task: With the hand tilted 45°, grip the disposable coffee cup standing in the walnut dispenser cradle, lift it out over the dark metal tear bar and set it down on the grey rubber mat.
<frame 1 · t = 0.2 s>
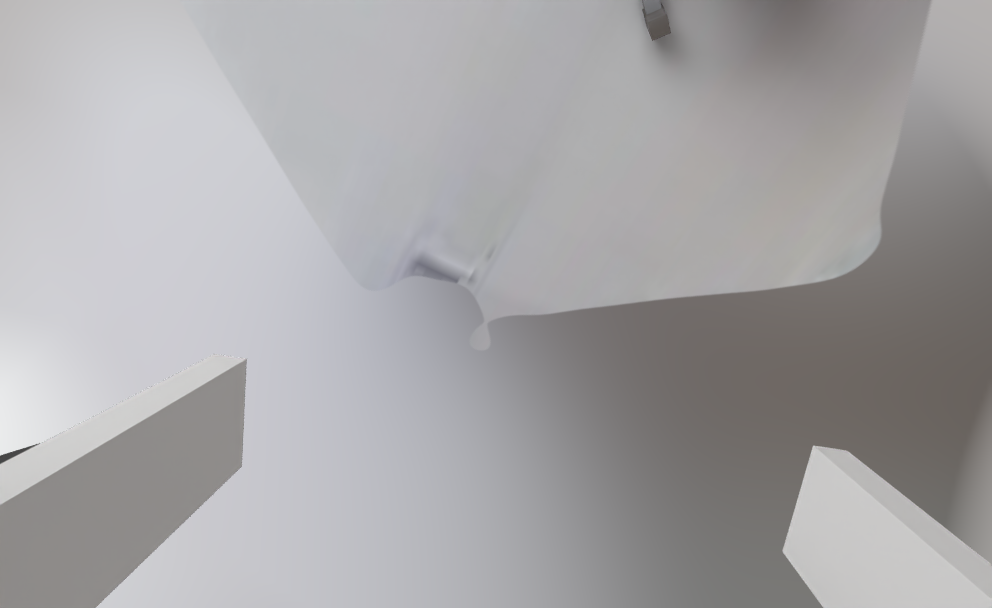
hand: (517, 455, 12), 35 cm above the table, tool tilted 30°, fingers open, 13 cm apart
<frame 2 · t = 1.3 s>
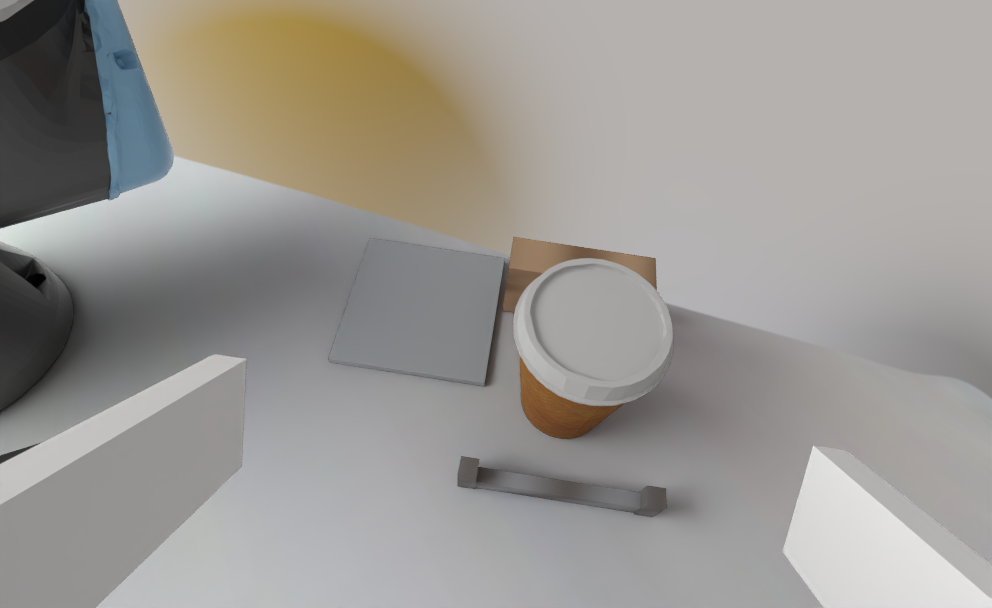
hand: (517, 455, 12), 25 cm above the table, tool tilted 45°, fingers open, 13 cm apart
dispenser cradle: (561, 398, 40), on the table
disposable coffee cup: (561, 399, 40), on the table
grey mat: (423, 308, 44), on the table
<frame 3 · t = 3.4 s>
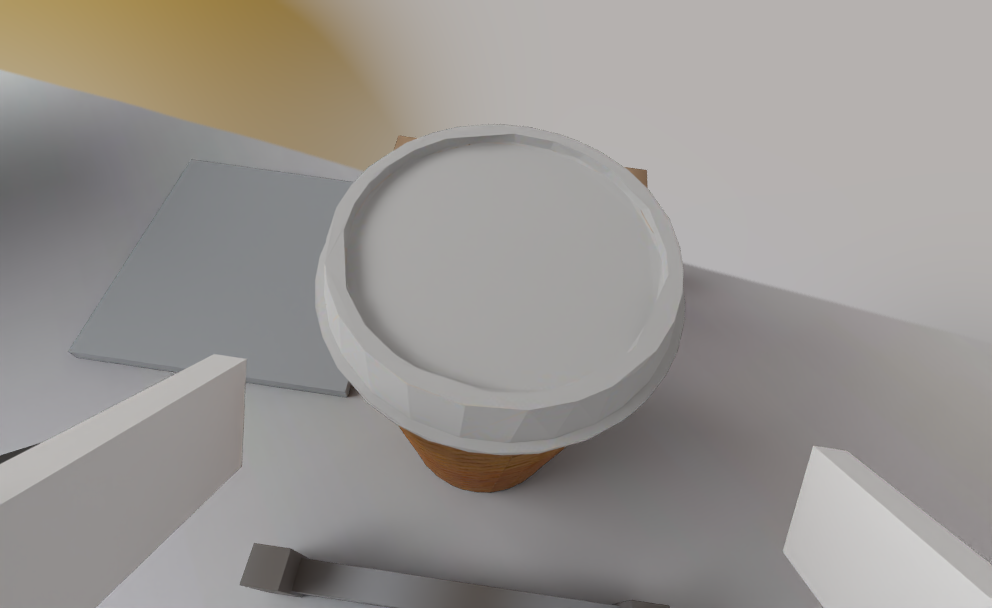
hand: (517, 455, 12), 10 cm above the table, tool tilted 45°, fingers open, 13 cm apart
dispenser cradle: (484, 417, 23), on the table
disposable coffee cup: (483, 419, 23), on the table
grey mat: (262, 267, 26), on the table
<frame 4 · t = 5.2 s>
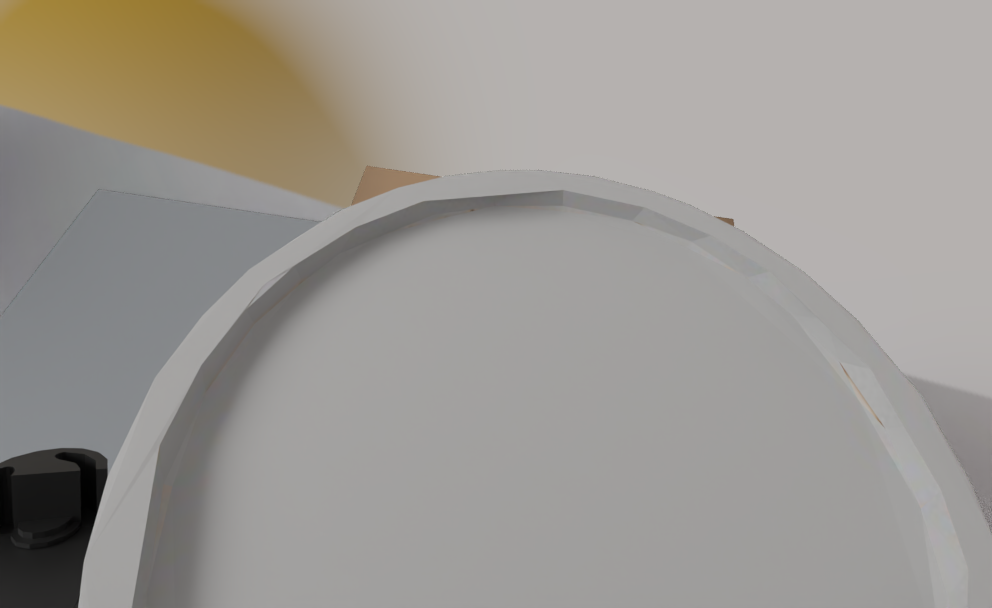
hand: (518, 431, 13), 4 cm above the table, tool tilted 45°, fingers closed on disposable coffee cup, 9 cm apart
dispenser cradle: (490, 587, 15), on the table
disposable coffee cup: (488, 587, 15), on the table, touching gripper
grey mat: (180, 345, 19), on the table
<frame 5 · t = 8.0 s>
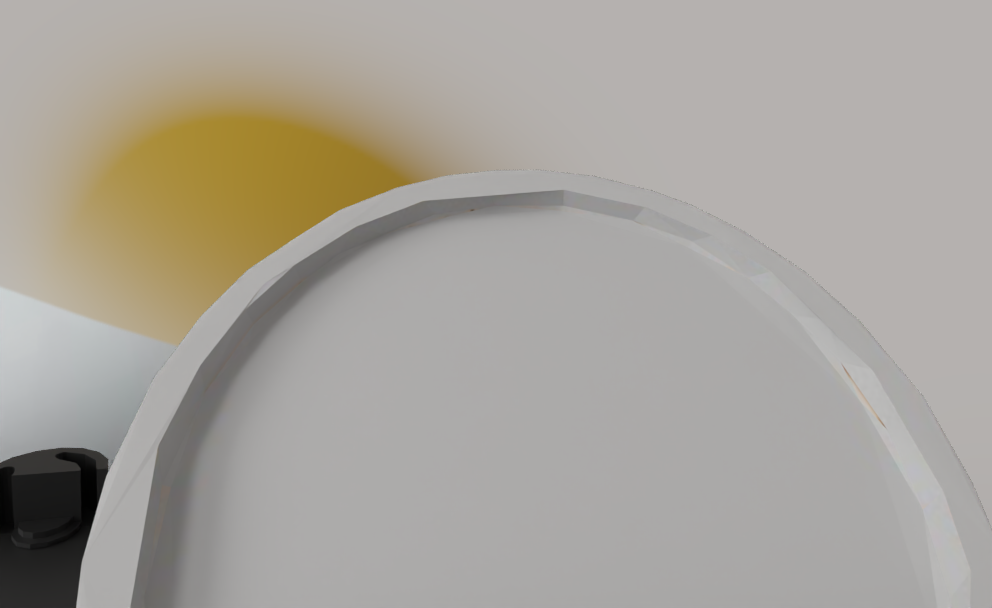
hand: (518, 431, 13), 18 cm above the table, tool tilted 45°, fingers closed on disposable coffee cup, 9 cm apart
disposable coffee cup: (488, 588, 15), point 13 cm above the table, touching gripper
when the fingers open (7 cm above the table, at t = 10.6 s): disposable coffee cup drops 1 cm, resting on grey mat.
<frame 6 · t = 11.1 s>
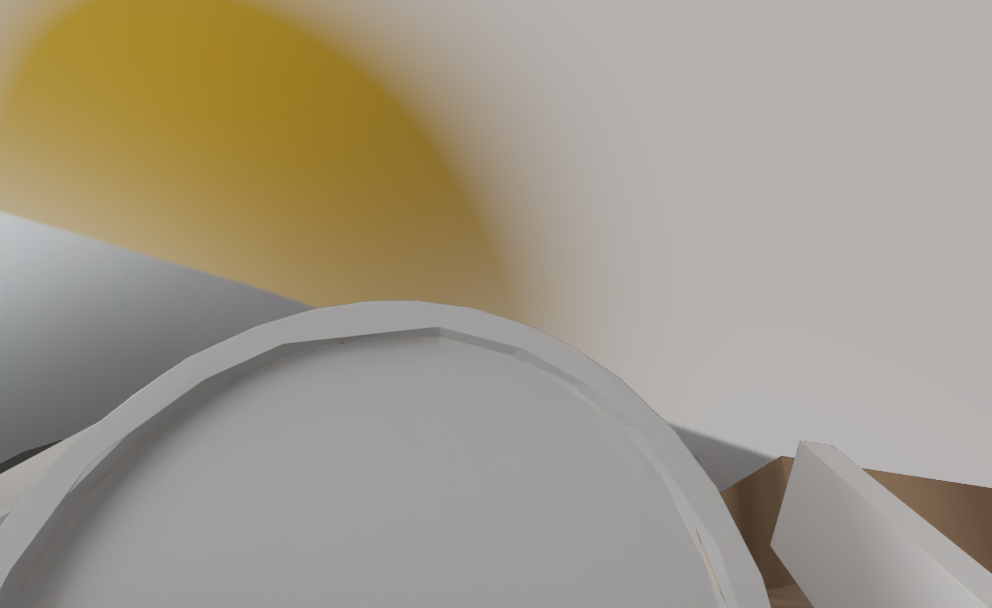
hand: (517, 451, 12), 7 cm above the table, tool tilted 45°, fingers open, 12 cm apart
disposable coffee cup: (403, 606, 16), point 1 cm above the table, touching grey mat, gripper
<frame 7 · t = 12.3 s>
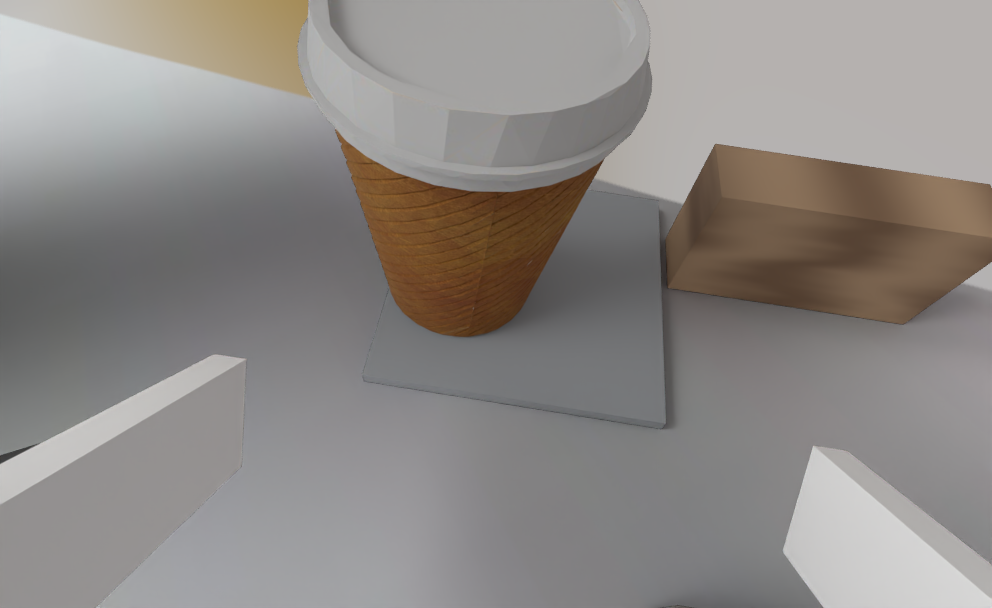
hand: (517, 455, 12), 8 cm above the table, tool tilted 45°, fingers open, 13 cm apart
dispenser cradle: (812, 453, 21), on the table
disposable coffee cup: (460, 277, 24), point 1 cm above the table, touching grey mat
grey mat: (528, 283, 24), on the table
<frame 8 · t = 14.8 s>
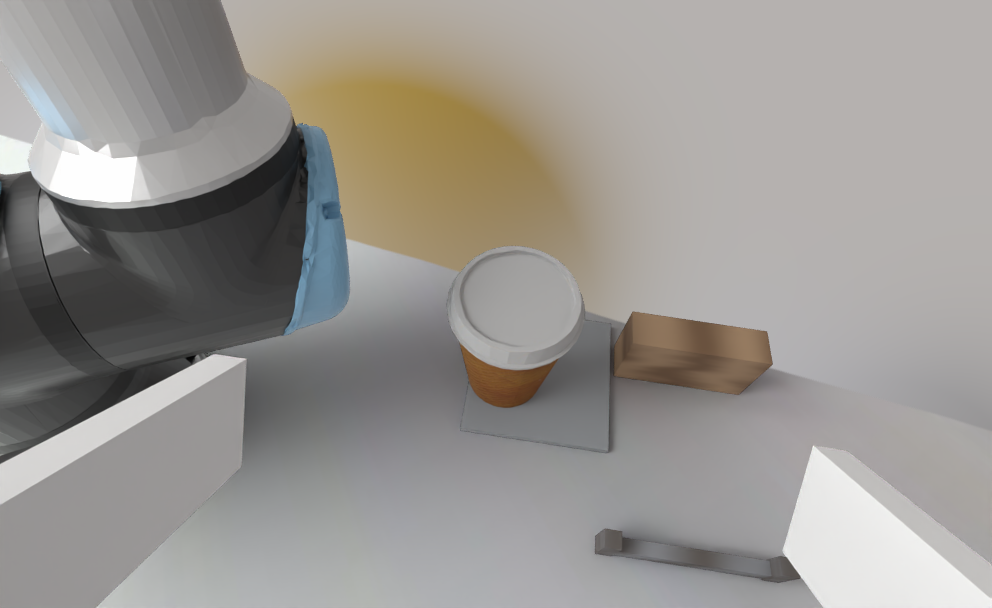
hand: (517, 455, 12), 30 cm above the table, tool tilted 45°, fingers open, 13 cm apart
dispenser cradle: (680, 464, 43), on the table
disposable coffee cup: (504, 374, 45), resting on grey mat
grey mat: (539, 375, 46), on the table
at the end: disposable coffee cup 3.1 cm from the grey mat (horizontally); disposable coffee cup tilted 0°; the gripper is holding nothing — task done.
